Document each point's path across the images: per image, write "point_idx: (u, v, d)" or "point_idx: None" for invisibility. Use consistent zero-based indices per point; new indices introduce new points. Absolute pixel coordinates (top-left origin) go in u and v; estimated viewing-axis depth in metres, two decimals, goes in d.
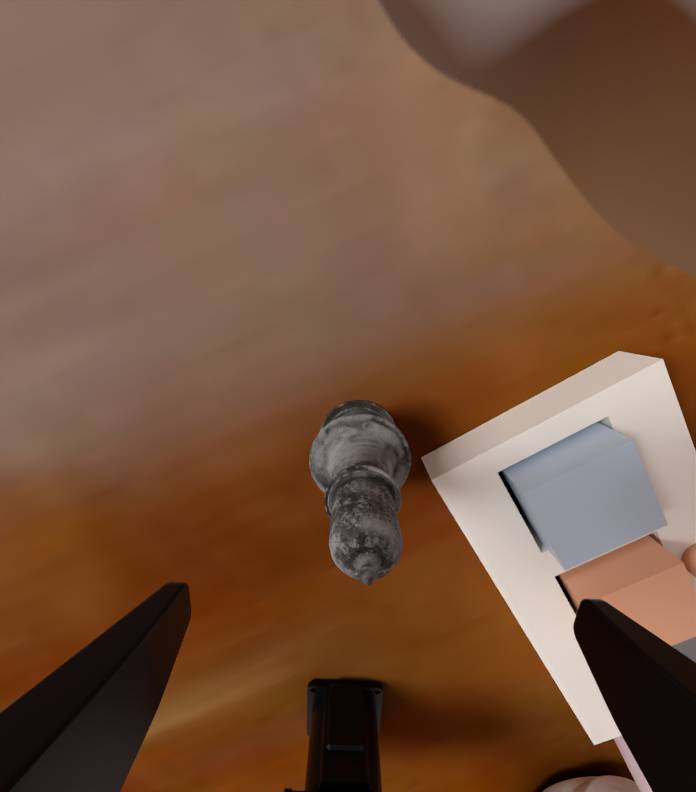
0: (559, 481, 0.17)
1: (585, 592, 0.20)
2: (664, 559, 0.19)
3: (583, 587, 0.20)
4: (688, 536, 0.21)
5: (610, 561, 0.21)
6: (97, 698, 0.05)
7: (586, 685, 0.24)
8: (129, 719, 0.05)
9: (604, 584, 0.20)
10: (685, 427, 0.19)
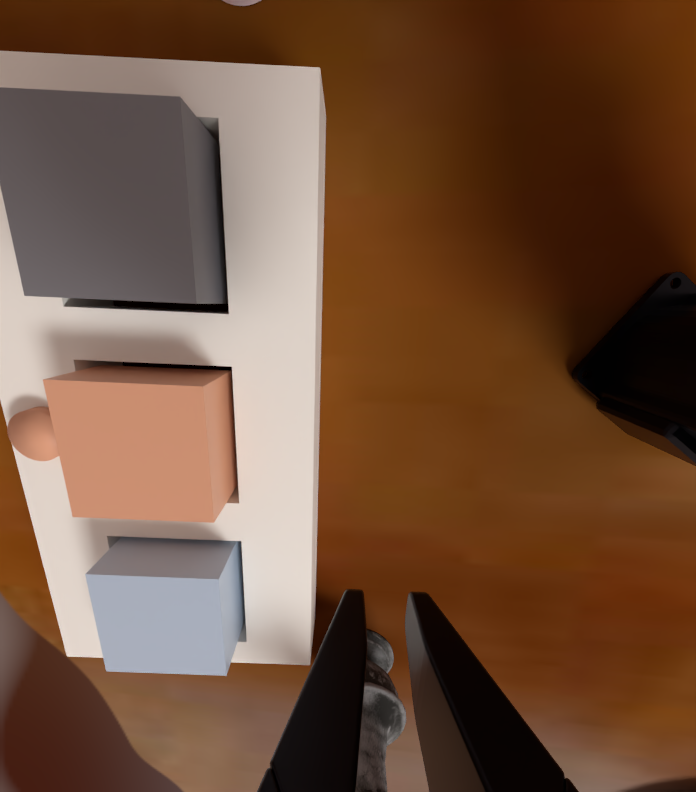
0: (188, 669, 0.16)
1: None
2: None
3: None
4: (60, 470, 0.15)
5: None
6: (361, 708, 0.05)
7: (270, 273, 0.13)
8: None
9: None
10: (52, 593, 0.17)
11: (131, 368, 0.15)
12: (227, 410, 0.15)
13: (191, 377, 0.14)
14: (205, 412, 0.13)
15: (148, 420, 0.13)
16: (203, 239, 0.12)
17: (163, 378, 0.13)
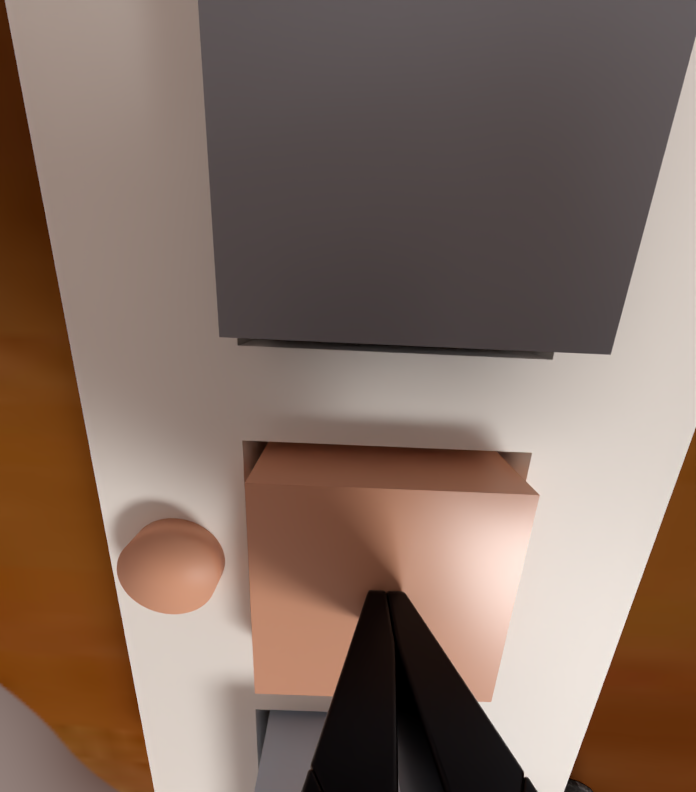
0: None
1: None
2: None
3: None
4: (193, 616, 0.09)
5: None
6: (395, 709, 0.05)
7: (656, 282, 0.07)
8: None
9: None
10: (155, 784, 0.11)
11: None
12: None
13: (465, 462, 0.08)
14: (528, 537, 0.07)
15: (422, 550, 0.07)
16: None
17: (431, 468, 0.07)
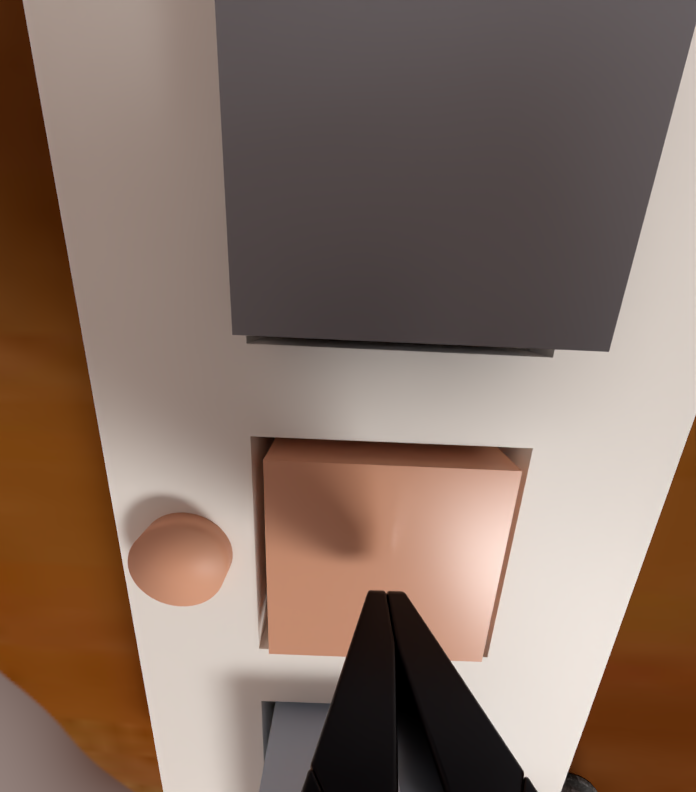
0: None
1: None
2: None
3: None
4: (201, 608, 0.09)
5: None
6: (395, 709, 0.05)
7: (654, 281, 0.07)
8: None
9: None
10: (162, 775, 0.11)
11: None
12: None
13: (458, 445, 0.09)
14: (513, 510, 0.08)
15: (419, 521, 0.08)
16: None
17: (427, 449, 0.08)
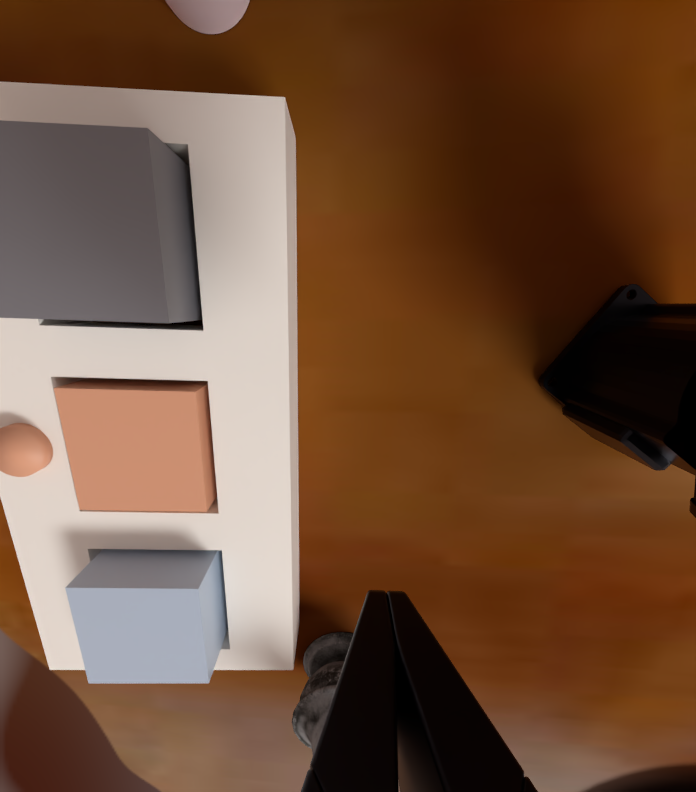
0: (170, 678, 0.16)
1: None
2: None
3: None
4: (40, 485, 0.16)
5: None
6: (395, 709, 0.05)
7: (243, 291, 0.13)
8: None
9: None
10: (33, 607, 0.18)
11: None
12: None
13: (184, 384, 0.15)
14: (197, 414, 0.14)
15: (147, 422, 0.14)
16: (175, 260, 0.12)
17: (160, 385, 0.15)
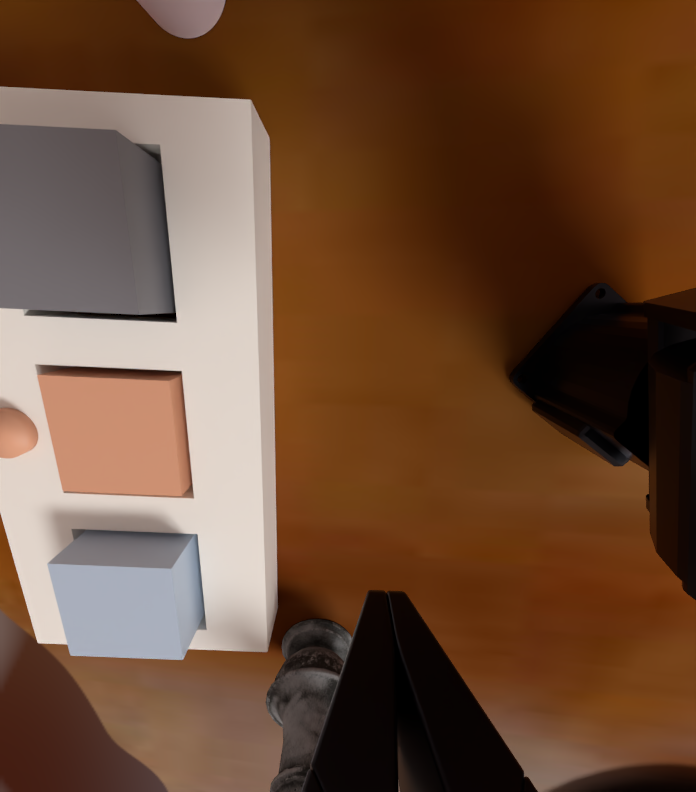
0: (146, 654, 0.17)
1: None
2: None
3: None
4: (26, 466, 0.17)
5: None
6: (395, 709, 0.05)
7: (214, 285, 0.14)
8: None
9: None
10: (22, 583, 0.19)
11: None
12: None
13: (162, 373, 0.16)
14: (171, 403, 0.15)
15: (124, 409, 0.15)
16: (146, 255, 0.13)
17: (138, 374, 0.16)
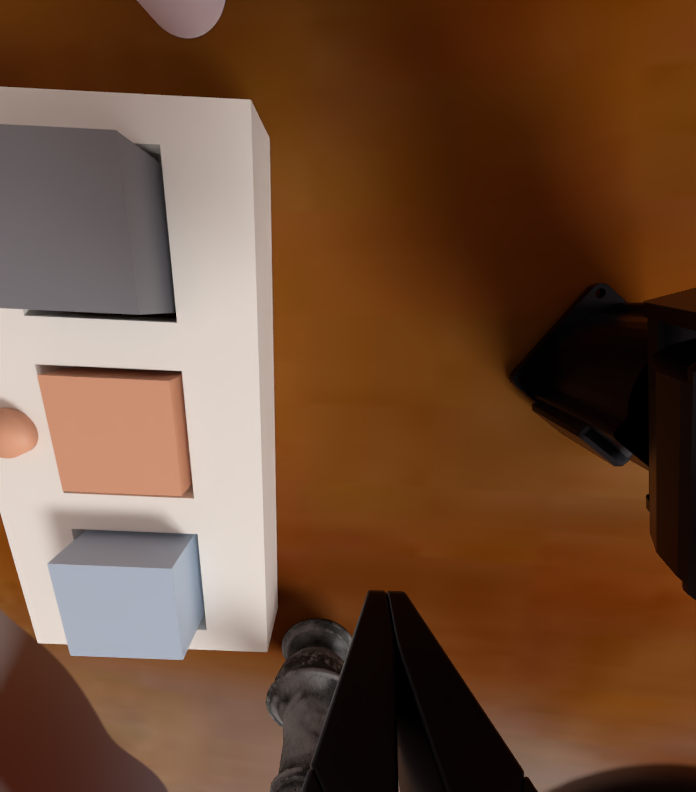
0: (146, 654, 0.17)
1: None
2: None
3: None
4: (26, 466, 0.17)
5: None
6: (395, 709, 0.05)
7: (214, 285, 0.14)
8: None
9: None
10: (22, 583, 0.19)
11: None
12: None
13: (162, 373, 0.16)
14: (171, 403, 0.15)
15: (124, 409, 0.15)
16: (146, 255, 0.13)
17: (138, 374, 0.16)
